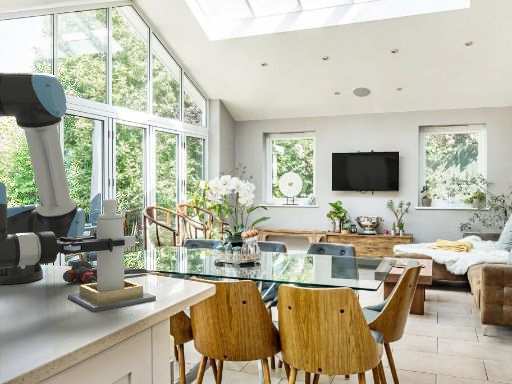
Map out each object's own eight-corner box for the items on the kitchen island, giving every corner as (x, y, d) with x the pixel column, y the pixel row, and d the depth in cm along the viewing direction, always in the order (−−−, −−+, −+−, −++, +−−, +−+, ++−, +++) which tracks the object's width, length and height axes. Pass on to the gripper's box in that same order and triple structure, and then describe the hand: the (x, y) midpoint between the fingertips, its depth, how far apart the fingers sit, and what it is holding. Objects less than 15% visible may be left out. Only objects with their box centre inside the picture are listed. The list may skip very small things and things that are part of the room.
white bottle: (128, 286, 122) (127, 192, 121) (117, 292, 115) (116, 193, 115) (104, 286, 122) (103, 193, 122) (92, 292, 116) (91, 193, 115)
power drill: (69, 298, 129) (58, 281, 141) (156, 289, 144) (139, 274, 156) (71, 276, 128) (59, 261, 140) (158, 269, 143) (140, 256, 155)
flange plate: (67, 297, 120) (67, 284, 120) (125, 288, 131) (124, 276, 131) (94, 312, 107) (94, 297, 107) (155, 300, 117) (155, 286, 117)
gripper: (24, 259, 114) (113, 250, 129) (49, 270, 99) (146, 258, 115) (24, 229, 114) (113, 223, 129) (48, 235, 99) (145, 228, 114)
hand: (128, 239), depth 122 cm, fingers closed on white bottle, 6 cm apart
